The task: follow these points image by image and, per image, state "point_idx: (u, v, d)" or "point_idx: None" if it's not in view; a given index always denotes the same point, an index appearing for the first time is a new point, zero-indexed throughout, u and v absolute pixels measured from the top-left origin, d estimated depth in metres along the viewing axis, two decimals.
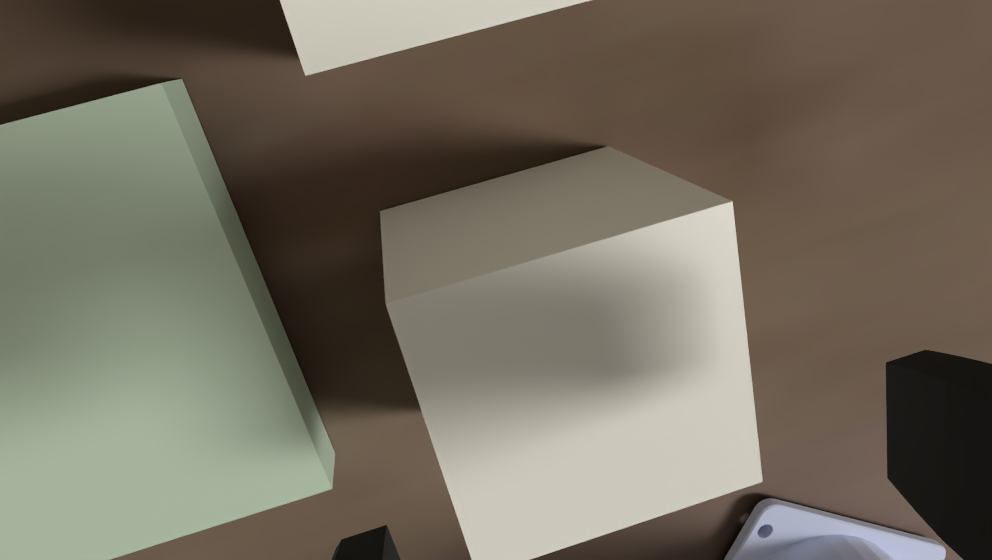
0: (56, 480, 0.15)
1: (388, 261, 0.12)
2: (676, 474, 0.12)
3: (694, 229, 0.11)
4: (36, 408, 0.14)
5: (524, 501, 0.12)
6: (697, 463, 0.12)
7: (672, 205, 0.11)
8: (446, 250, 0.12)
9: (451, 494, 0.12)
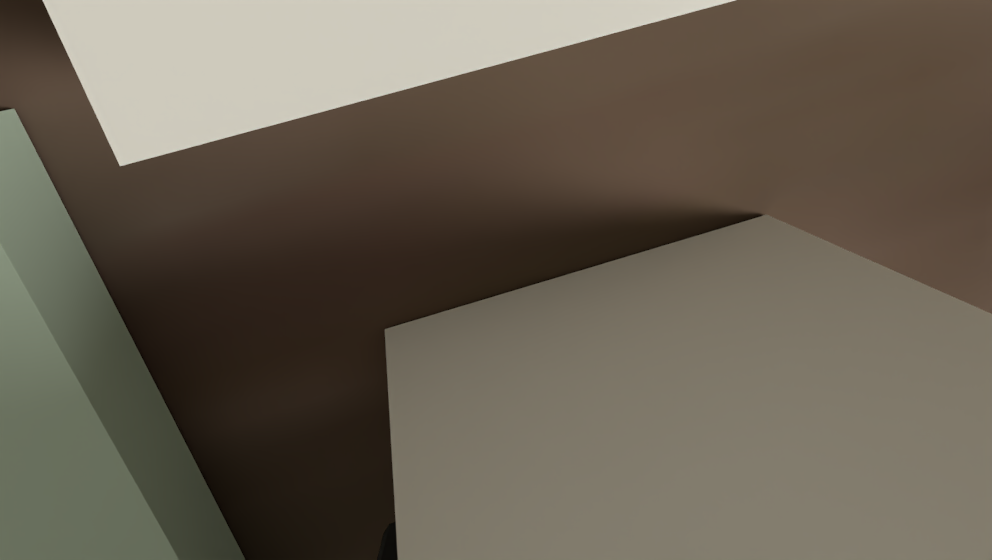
0: None
1: (407, 518, 0.06)
2: None
3: None
4: None
5: None
6: None
7: None
8: (536, 501, 0.05)
9: None
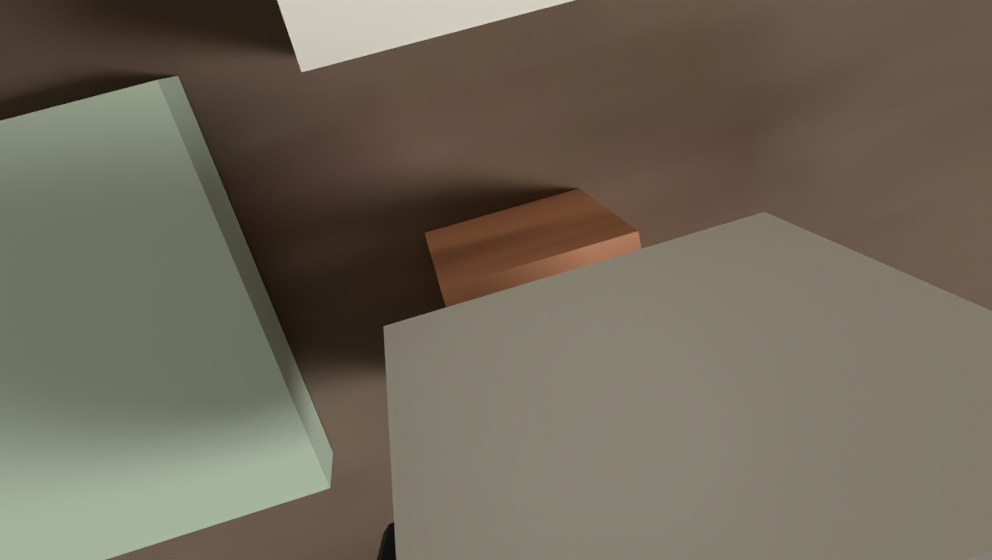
0: (52, 480, 0.15)
1: (405, 512, 0.06)
2: None
3: None
4: (32, 407, 0.14)
5: None
6: None
7: None
8: (534, 496, 0.05)
9: None
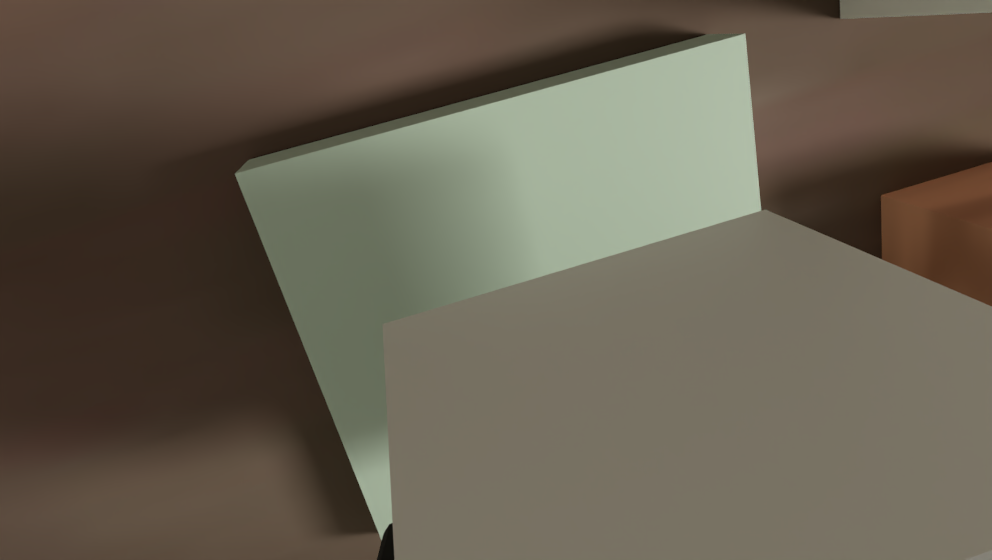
0: None
1: (404, 510, 0.06)
2: None
3: None
4: None
5: None
6: None
7: None
8: (533, 493, 0.05)
9: None
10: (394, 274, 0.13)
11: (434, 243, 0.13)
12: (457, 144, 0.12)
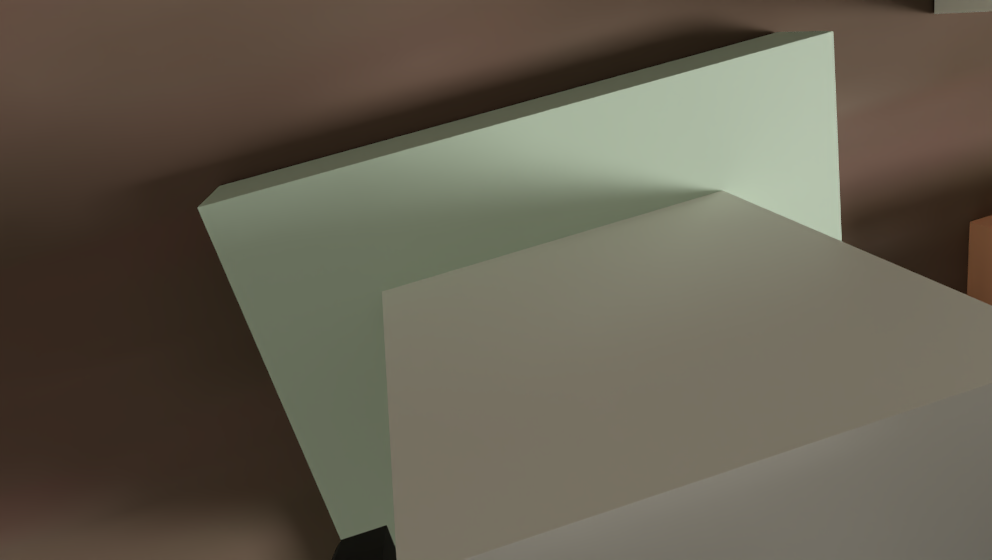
0: None
1: (399, 426, 0.07)
2: None
3: None
4: None
5: None
6: None
7: (947, 344, 0.06)
8: (505, 410, 0.07)
9: None
10: None
11: None
12: (477, 169, 0.10)
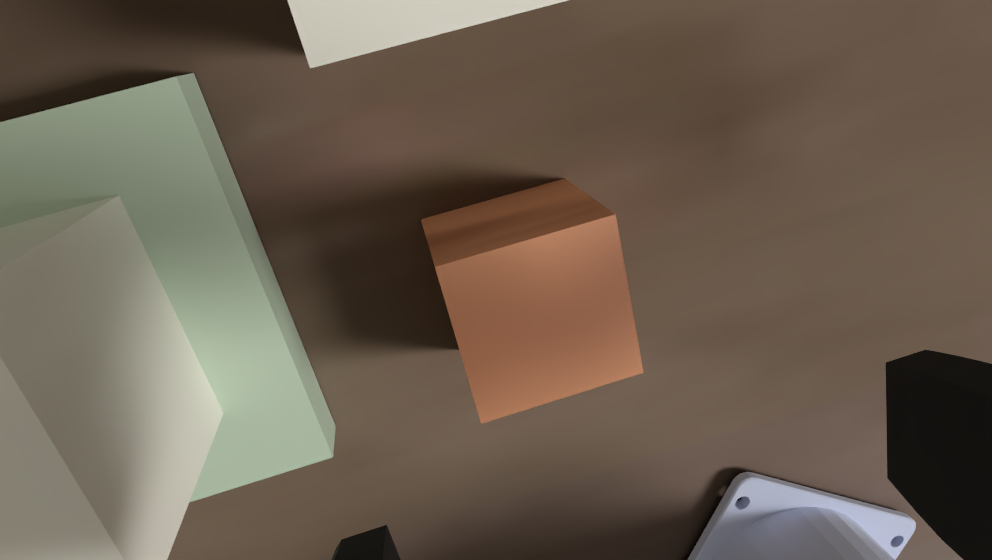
0: None
1: None
2: None
3: None
4: None
5: None
6: None
7: None
8: None
9: None
10: None
11: None
12: None
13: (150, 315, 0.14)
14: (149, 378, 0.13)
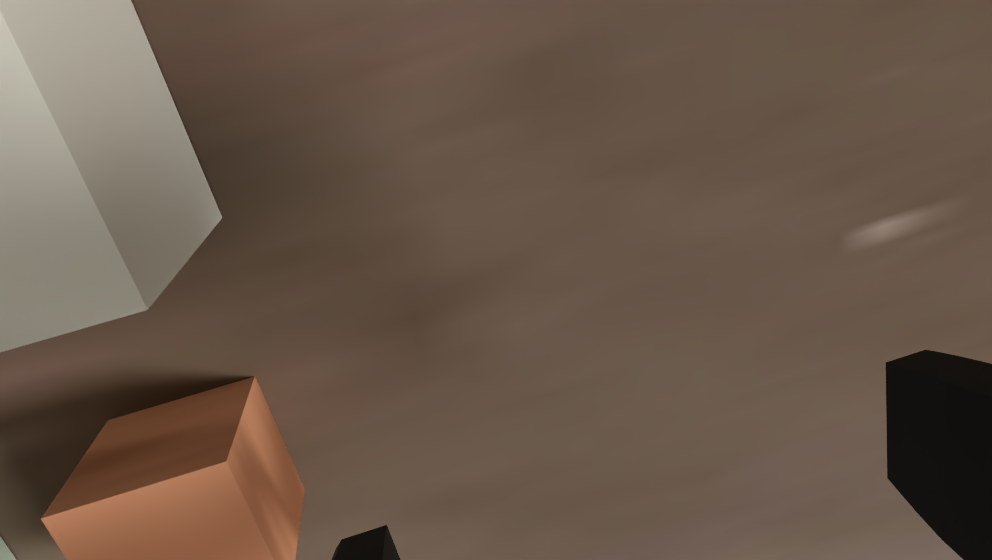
0: None
1: None
2: None
3: None
4: None
5: None
6: None
7: None
8: None
9: None
10: None
11: None
12: None
13: None
14: None
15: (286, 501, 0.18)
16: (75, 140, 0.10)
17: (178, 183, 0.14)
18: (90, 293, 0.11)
